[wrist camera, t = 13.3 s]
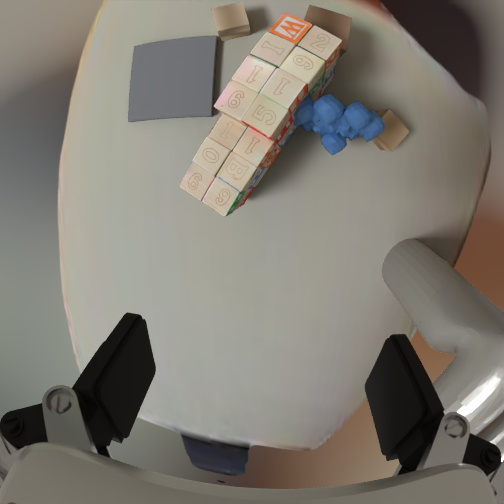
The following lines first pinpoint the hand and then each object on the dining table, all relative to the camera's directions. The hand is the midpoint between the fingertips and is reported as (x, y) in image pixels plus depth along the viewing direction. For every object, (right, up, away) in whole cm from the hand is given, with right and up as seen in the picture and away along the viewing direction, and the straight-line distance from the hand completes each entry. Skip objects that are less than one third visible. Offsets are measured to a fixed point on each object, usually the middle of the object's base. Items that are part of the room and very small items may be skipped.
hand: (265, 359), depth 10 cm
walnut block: (+8, +31, +18) cm, 37 cm away
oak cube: (+17, +21, +22) cm, 35 cm away
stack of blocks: (+2, +20, +23) cm, 31 cm away
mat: (-11, +28, +21) cm, 36 cm away
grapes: (+10, +20, +23) cm, 32 cm away
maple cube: (-3, +35, +18) cm, 39 cm away
